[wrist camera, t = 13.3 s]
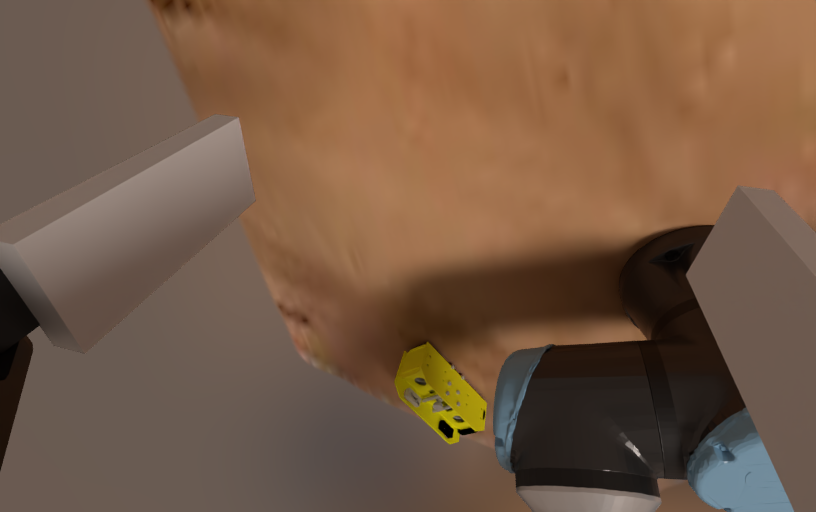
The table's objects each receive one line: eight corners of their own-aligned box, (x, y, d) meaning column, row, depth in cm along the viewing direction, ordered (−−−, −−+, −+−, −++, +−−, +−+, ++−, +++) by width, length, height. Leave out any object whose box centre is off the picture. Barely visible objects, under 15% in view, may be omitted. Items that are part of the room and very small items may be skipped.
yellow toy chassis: (403, 347, 67) (388, 391, 60) (430, 337, 64) (418, 381, 57) (461, 405, 72) (453, 451, 65) (488, 398, 69) (484, 445, 62)
